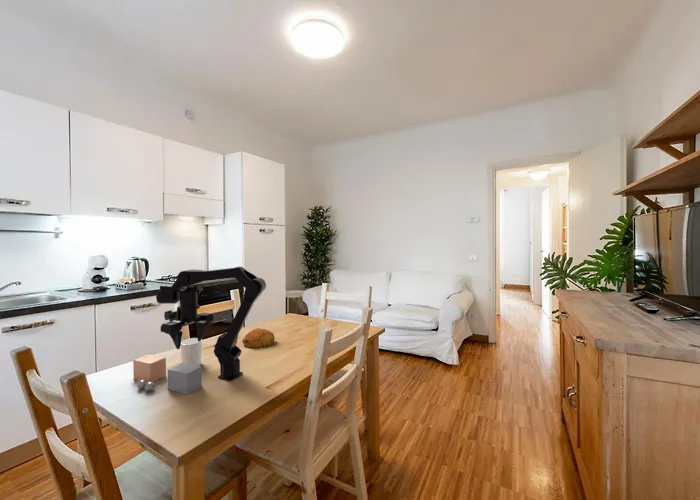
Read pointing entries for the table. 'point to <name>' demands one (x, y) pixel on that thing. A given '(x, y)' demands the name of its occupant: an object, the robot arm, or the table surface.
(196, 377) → the pale grey box
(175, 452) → the table surface
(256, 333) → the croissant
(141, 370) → the peach rectangular block
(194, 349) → the white cup
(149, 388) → the marble
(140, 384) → the marble
